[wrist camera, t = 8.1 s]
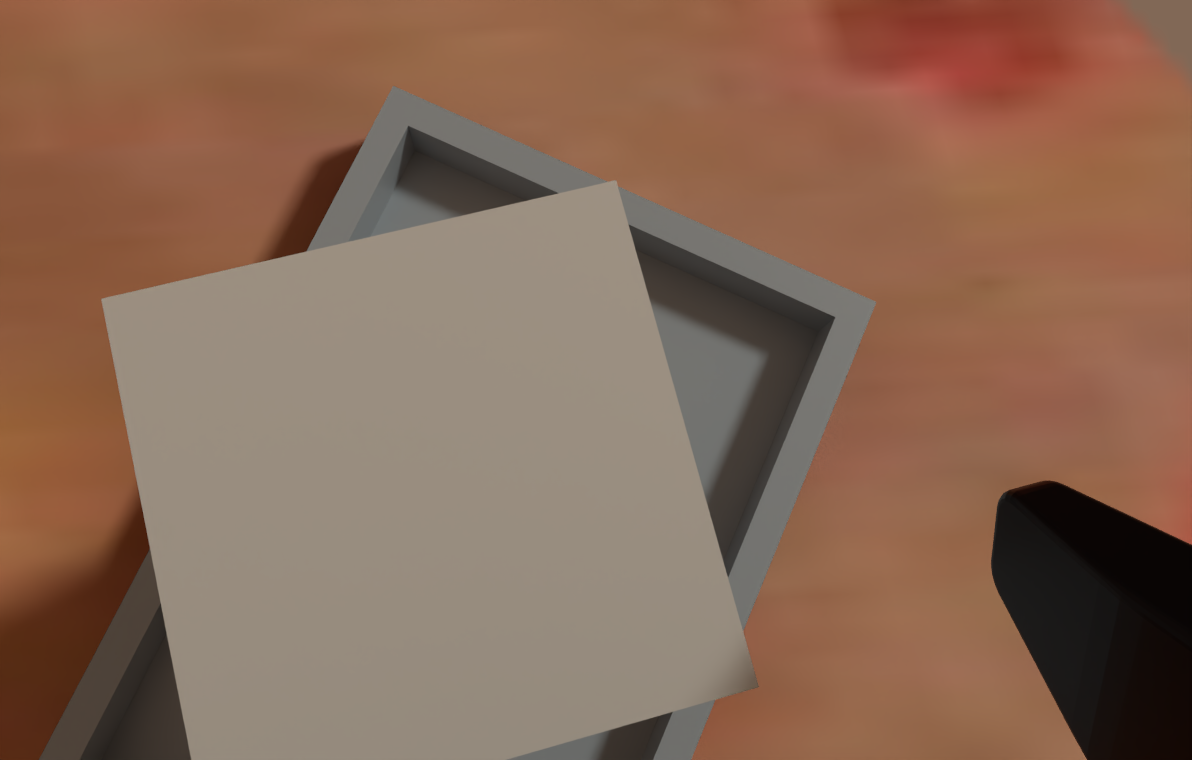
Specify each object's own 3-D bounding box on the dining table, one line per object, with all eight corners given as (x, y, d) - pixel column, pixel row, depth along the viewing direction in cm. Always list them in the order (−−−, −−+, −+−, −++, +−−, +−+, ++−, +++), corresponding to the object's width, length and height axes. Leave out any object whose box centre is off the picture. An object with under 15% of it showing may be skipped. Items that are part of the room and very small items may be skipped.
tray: (566, 1013, 19) (570, 1056, 18) (63, 780, 19) (16, 801, 18) (847, 324, 22) (876, 301, 20) (403, 125, 22) (393, 85, 20)
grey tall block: (633, 628, 20) (759, 688, 9) (384, 697, 19) (209, 847, 9) (569, 387, 21) (615, 180, 10) (328, 447, 20) (101, 299, 9)
